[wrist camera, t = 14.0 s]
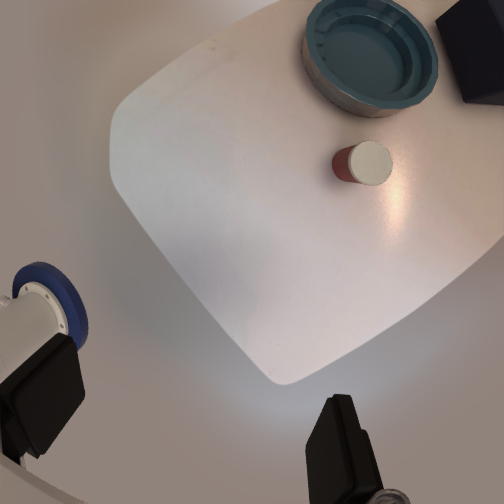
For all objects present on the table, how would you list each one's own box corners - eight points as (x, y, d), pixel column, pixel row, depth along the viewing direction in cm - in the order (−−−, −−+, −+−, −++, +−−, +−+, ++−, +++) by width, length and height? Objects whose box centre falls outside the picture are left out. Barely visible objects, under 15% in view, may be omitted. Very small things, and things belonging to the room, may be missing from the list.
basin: (292, 101, 31) (296, 87, 26) (309, 1, 27) (313, -22, 21) (412, 133, 31) (434, 128, 25) (418, 35, 27) (437, 18, 21)
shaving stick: (328, 177, 33) (346, 179, 25) (334, 144, 32) (354, 135, 24) (361, 185, 33) (388, 190, 25) (367, 152, 32) (395, 147, 23)
